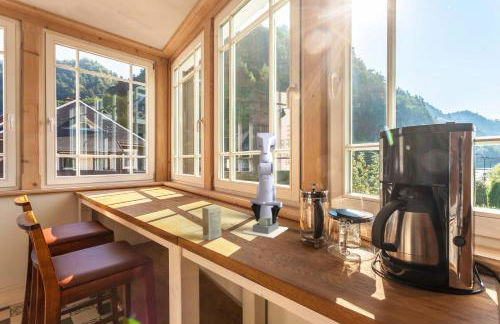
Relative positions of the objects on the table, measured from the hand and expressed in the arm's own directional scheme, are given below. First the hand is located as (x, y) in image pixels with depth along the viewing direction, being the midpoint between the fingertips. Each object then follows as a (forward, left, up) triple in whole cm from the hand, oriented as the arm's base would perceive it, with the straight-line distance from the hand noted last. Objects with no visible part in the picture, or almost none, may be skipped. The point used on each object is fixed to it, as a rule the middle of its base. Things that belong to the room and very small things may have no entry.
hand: (265, 222), depth 108 cm
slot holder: (0, 0, -4) cm, 4 cm away
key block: (0, 0, -3) cm, 3 cm away
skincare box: (+19, -14, -4) cm, 24 cm away
